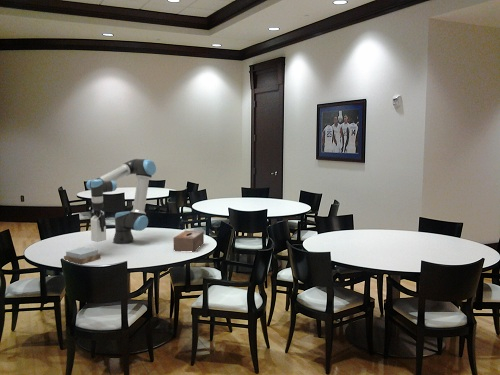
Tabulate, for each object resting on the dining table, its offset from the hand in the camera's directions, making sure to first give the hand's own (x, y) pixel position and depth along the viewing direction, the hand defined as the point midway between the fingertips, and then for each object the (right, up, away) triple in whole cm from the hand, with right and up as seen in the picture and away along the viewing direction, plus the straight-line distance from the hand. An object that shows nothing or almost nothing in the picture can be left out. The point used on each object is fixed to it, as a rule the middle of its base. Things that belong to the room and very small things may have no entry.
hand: (98, 235), depth 314 cm
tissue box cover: (+59, -12, +25) cm, 65 cm away
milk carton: (0, -4, 0) cm, 4 cm away
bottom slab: (-7, -15, -11) cm, 20 cm away
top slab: (-7, -12, -12) cm, 18 cm away
